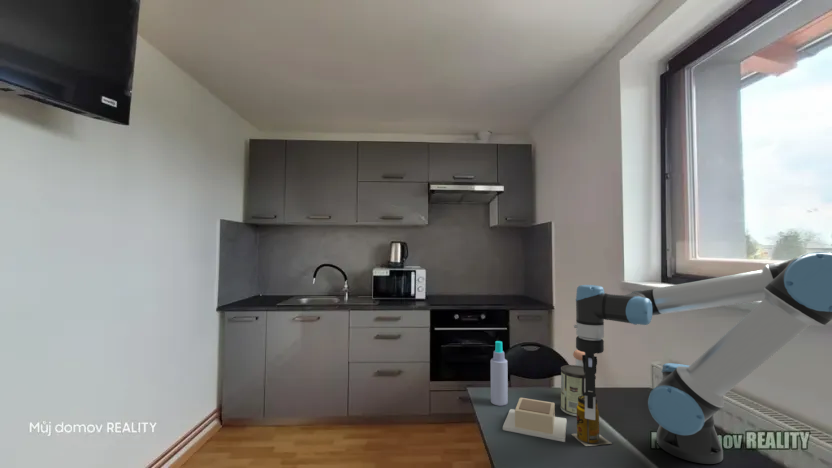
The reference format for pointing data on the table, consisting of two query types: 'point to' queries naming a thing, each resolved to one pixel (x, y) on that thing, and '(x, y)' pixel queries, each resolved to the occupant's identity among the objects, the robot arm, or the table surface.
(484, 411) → the table surface
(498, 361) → the spray bottle
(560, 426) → the structure base
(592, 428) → the condiment
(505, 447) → the table surface
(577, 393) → the coffee can
